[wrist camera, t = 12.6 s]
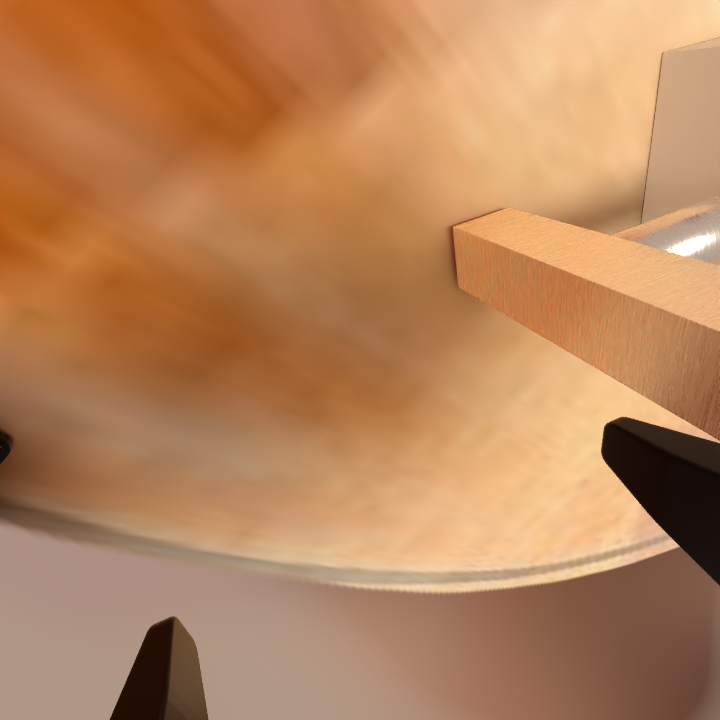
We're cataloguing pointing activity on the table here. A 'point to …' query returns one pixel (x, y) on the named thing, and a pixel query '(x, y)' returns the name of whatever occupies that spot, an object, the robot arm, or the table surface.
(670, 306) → the grey piece
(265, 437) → the table surface
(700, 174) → the block
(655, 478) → the robot arm
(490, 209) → the table surface
